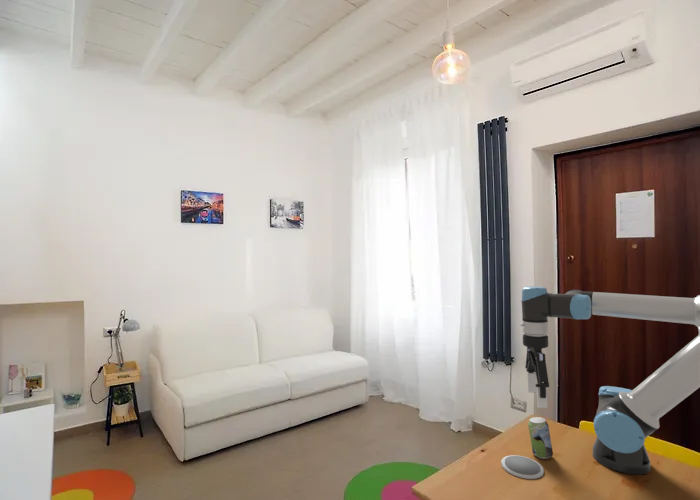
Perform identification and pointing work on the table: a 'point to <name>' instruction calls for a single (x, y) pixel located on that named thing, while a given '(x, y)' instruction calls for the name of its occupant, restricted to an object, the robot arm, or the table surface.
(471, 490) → the table surface
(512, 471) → the grey white round coaster
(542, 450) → the beverage can
